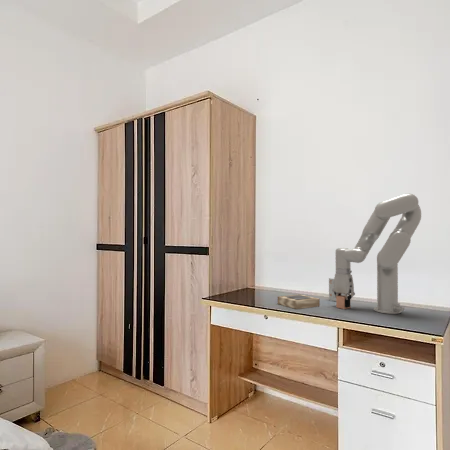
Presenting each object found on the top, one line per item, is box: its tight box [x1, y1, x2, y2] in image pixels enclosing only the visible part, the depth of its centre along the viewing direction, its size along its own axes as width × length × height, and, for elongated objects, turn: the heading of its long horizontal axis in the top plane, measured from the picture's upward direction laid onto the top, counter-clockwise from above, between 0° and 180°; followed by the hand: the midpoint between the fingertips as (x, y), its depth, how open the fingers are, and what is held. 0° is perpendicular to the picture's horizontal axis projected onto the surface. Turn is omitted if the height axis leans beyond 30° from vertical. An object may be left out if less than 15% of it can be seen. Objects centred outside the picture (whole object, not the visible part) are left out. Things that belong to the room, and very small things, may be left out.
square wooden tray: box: [277, 293, 321, 310], centre depth 198 cm, size 16×16×4 cm
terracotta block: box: [335, 295, 351, 310], centre depth 191 cm, size 5×5×6 cm
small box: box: [328, 277, 345, 302], centre depth 212 cm, size 8×6×13 cm
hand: (343, 305), depth 191 cm, fingers closed on terracotta block, 5 cm apart
